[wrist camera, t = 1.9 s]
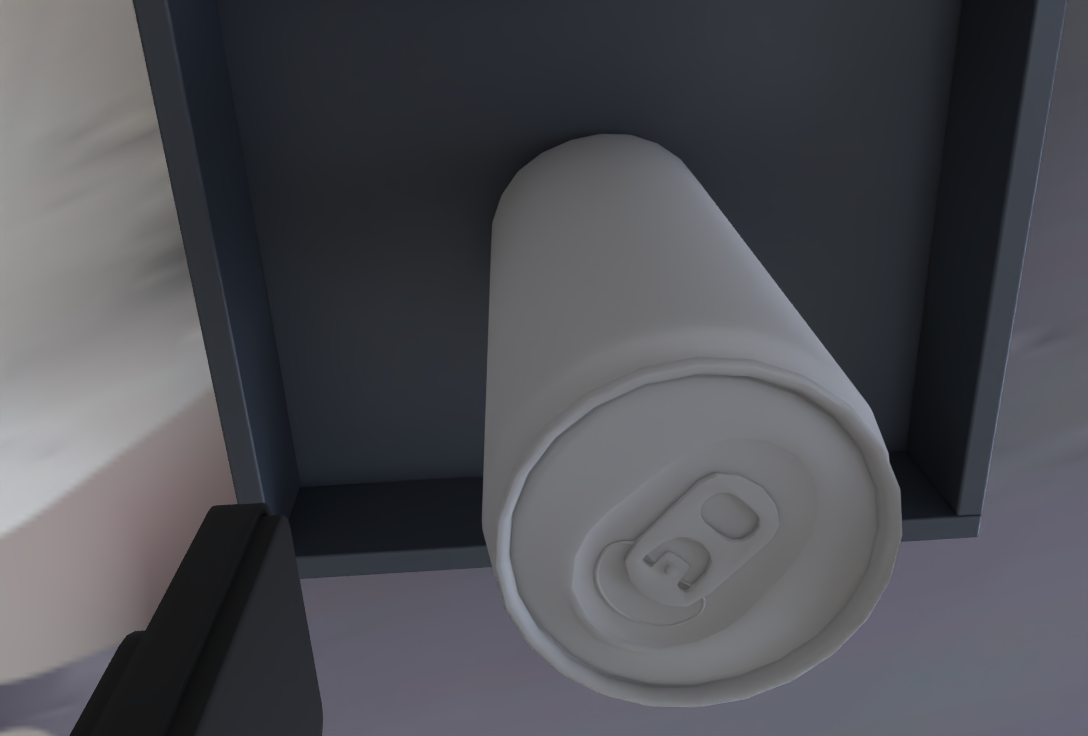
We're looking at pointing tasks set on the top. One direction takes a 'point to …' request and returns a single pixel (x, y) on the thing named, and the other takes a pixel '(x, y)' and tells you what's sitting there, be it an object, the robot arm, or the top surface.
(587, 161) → the beverage can
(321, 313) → the desk tray
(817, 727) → the top surface
